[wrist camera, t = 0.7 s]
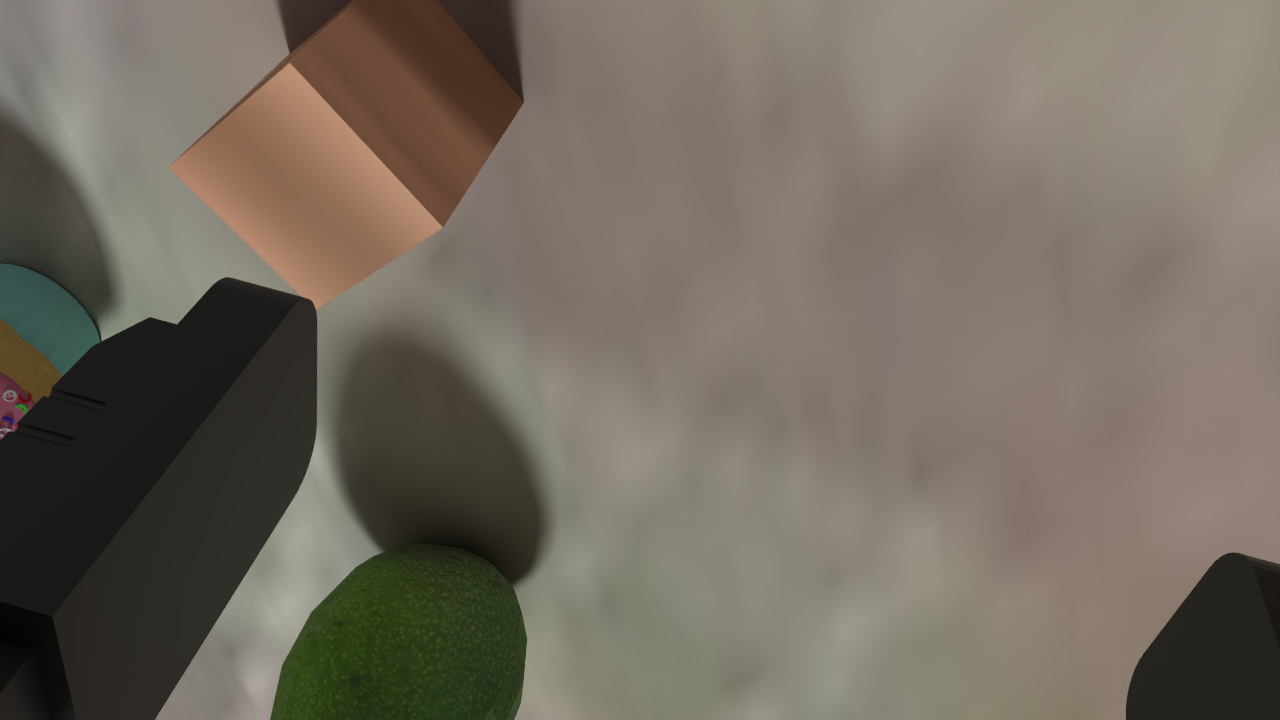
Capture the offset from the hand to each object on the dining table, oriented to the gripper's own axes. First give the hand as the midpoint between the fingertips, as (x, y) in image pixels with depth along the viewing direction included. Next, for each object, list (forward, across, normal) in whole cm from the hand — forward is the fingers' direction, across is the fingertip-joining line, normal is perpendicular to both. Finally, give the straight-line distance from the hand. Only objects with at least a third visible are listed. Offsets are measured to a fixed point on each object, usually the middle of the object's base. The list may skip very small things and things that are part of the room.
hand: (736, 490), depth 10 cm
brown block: (+19, +10, +7) cm, 22 cm away
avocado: (+20, +7, +26) cm, 34 cm away
